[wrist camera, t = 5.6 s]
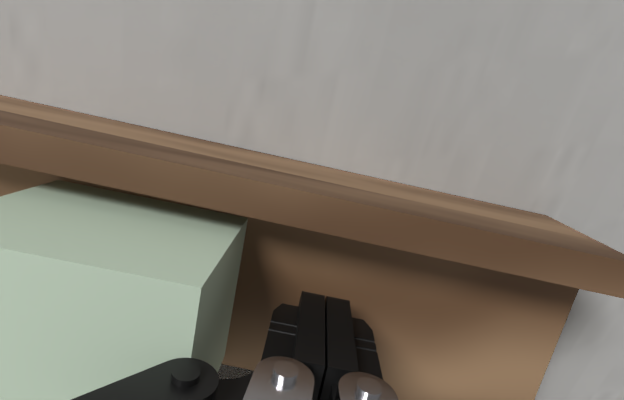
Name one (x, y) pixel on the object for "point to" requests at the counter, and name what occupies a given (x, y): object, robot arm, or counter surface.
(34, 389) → the block
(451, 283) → the box
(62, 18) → the counter surface
